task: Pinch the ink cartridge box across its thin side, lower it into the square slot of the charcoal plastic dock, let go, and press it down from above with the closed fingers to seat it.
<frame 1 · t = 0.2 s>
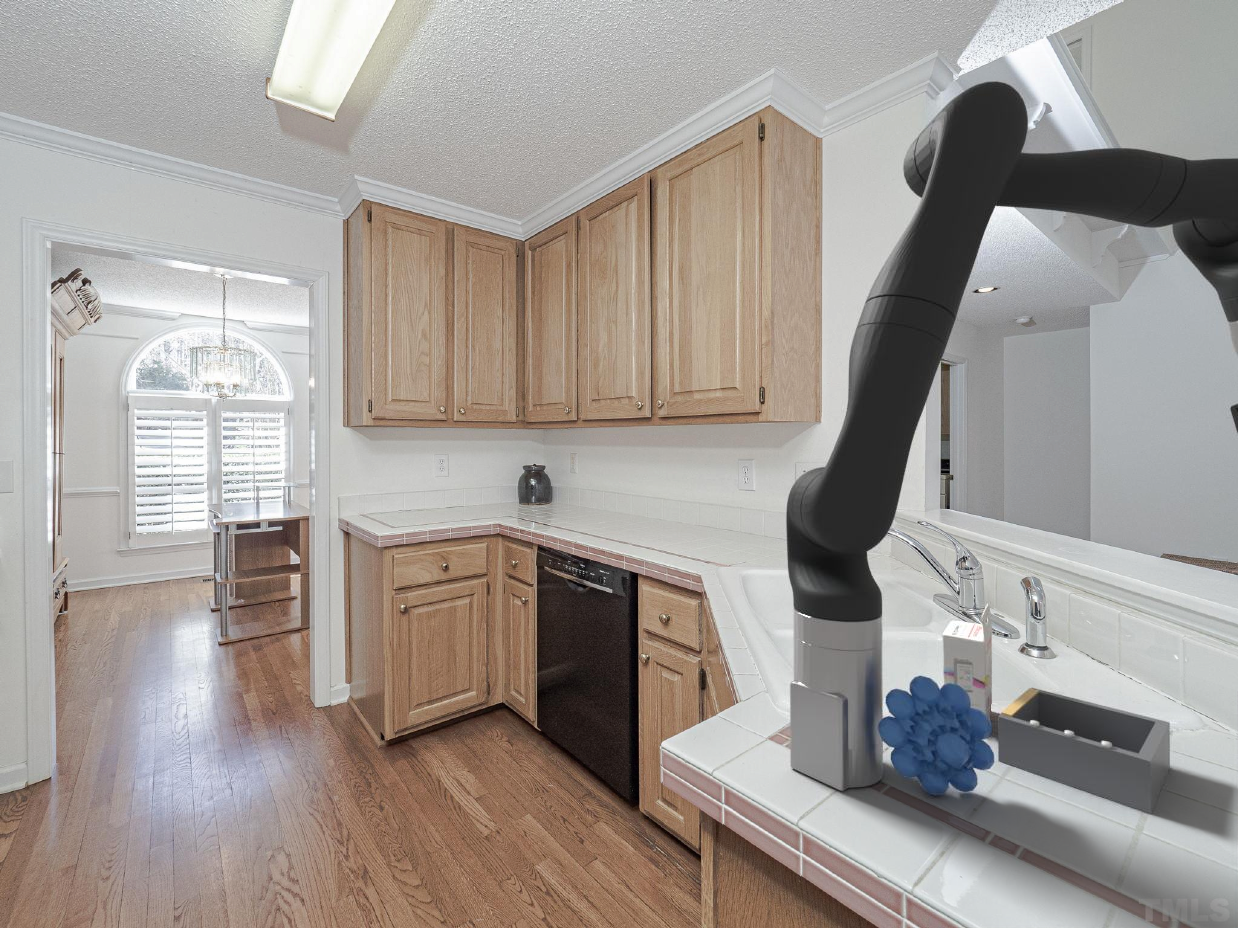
blue flower: (941, 801, 56), on the countertop
cartridge dock: (1083, 764, 63), on the countertop
ink cartridge box: (967, 719, 74), on the countertop
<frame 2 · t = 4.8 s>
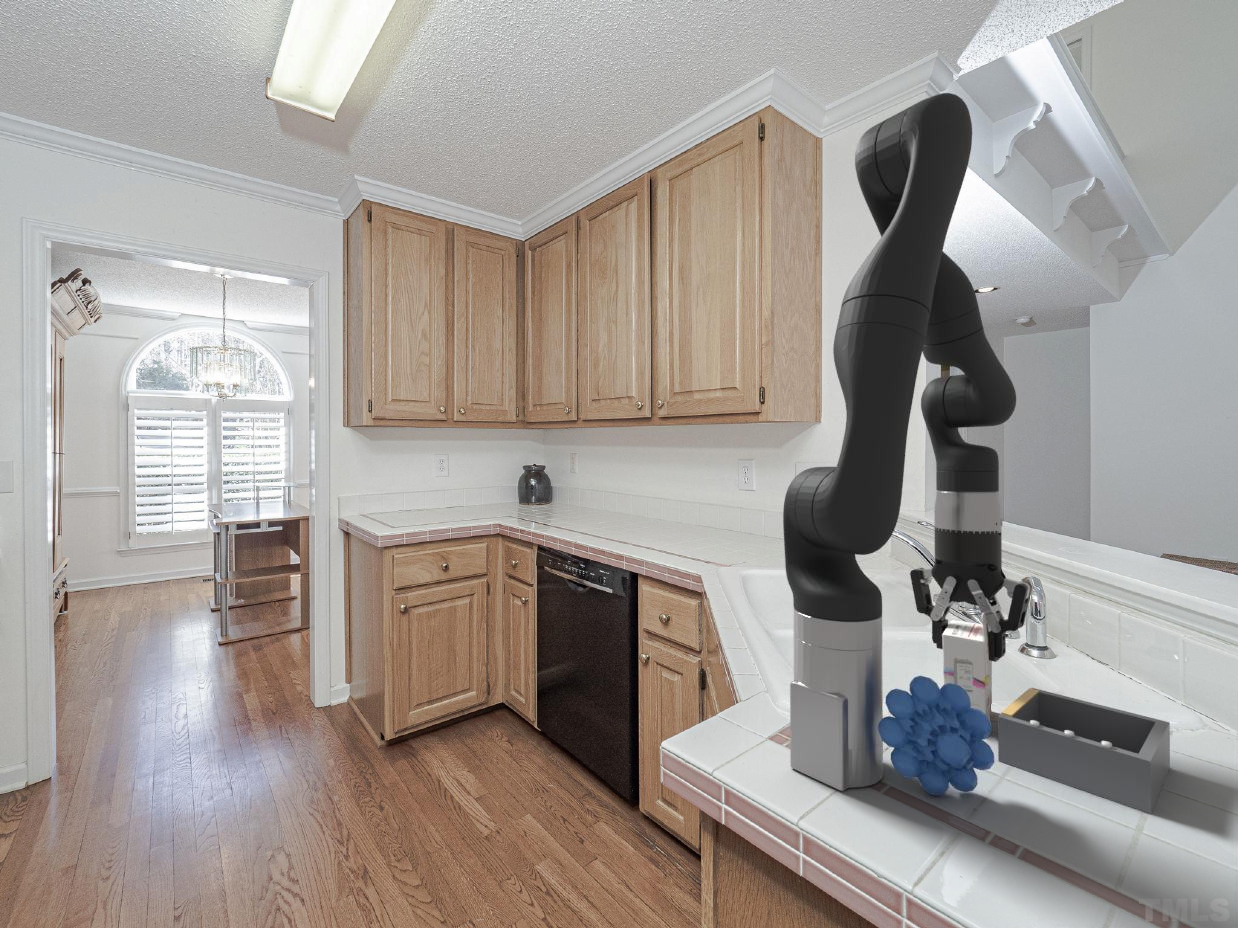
hand: (967, 653, 74), 9 cm above the countertop, tool pointing down, fingers closed on ink cartridge box, 5 cm apart
ink cartridge box: (967, 719, 74), on the countertop, touching gripper
everything else where it was.
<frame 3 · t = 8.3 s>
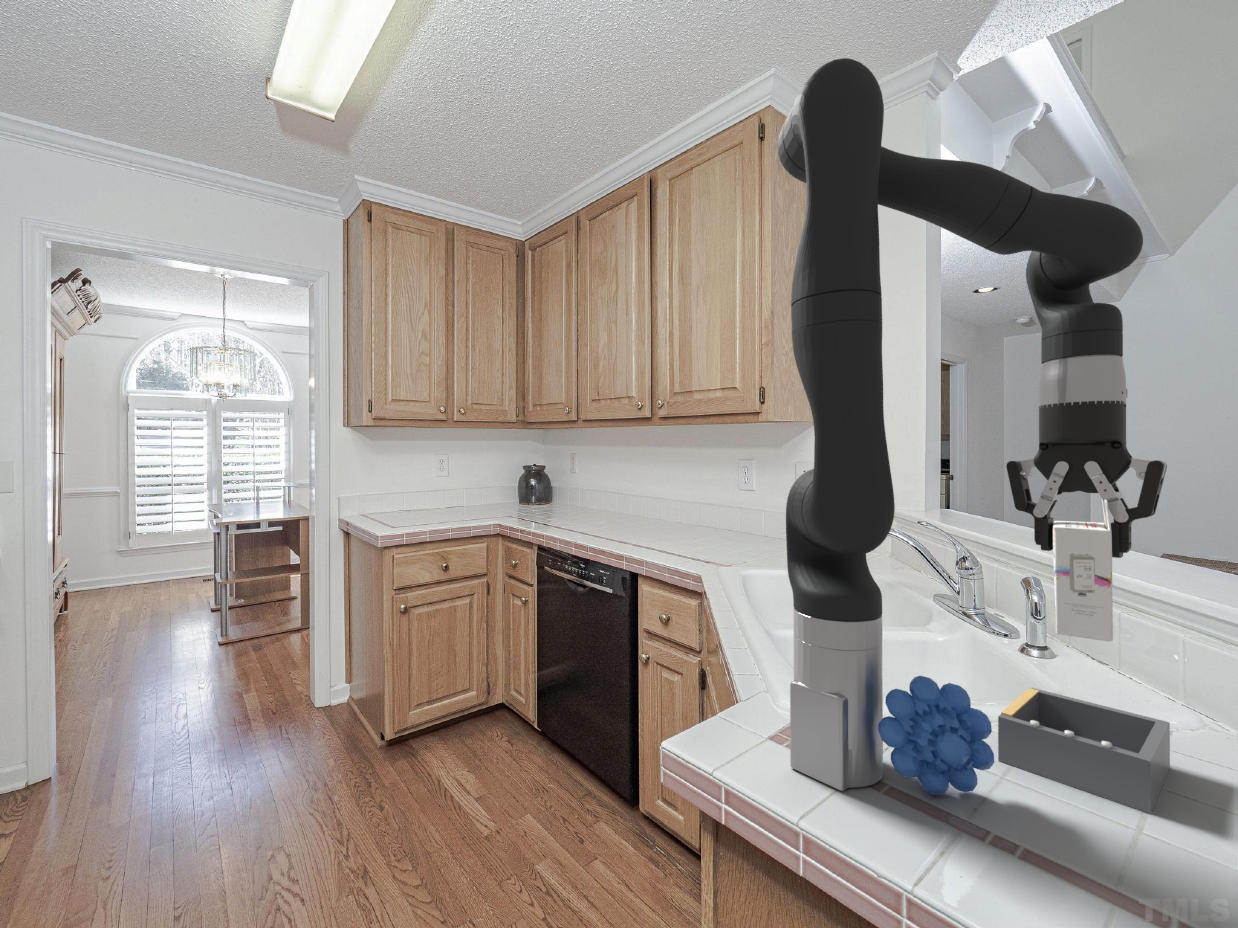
hand: (1081, 552, 63), 24 cm above the countertop, tool pointing down, fingers closed on ink cartridge box, 5 cm apart
ink cartridge box: (1081, 631, 63), point 15 cm above the countertop, touching gripper
everything else where it was.
when the fingers open (10 cm above the countertop, at t = 11.6 s): ink cartridge box stays where it is, resting on cartridge dock.
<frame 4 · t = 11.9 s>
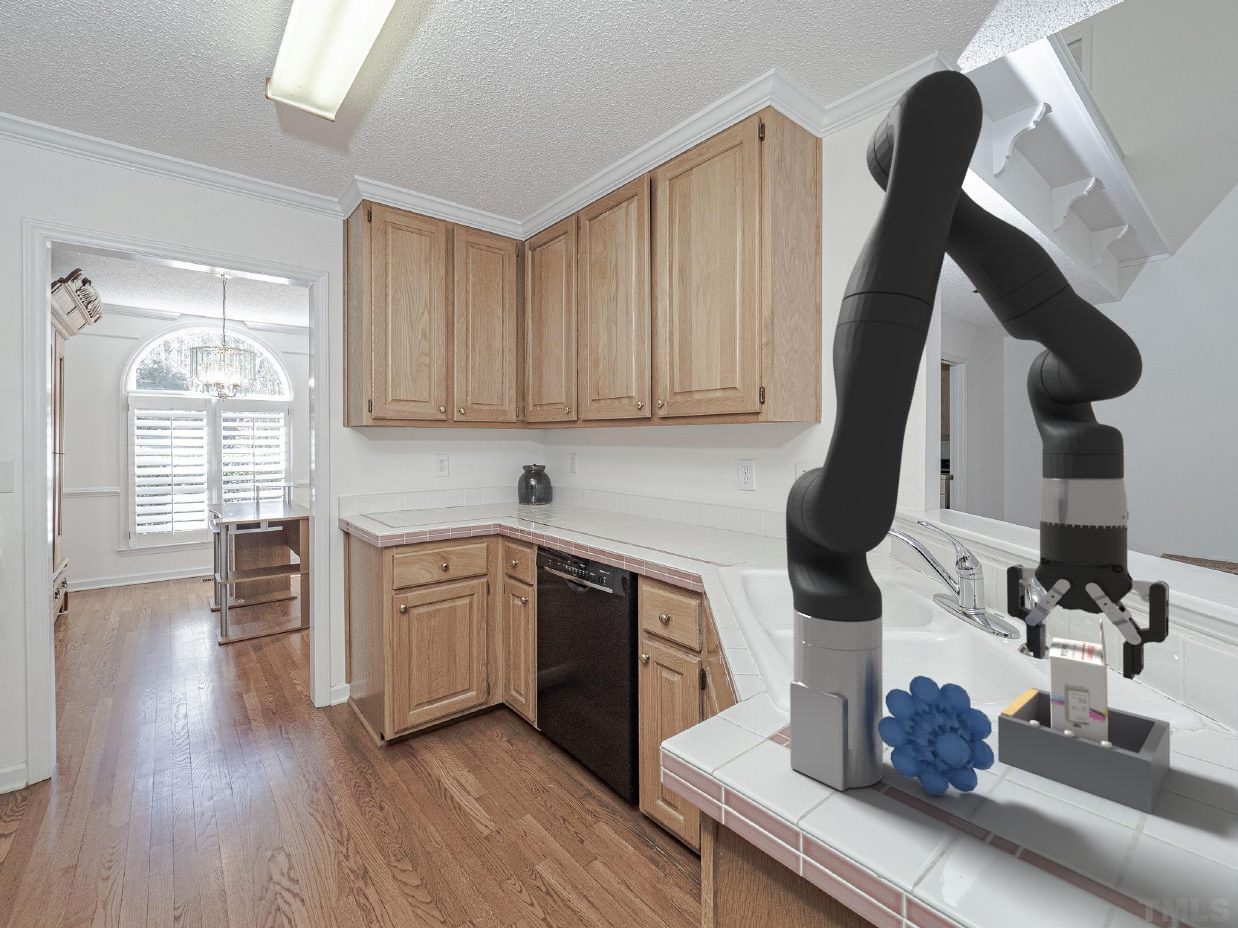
hand: (1082, 666, 63), 11 cm above the countertop, tool pointing down, fingers open, 7 cm apart
ink cartridge box: (1078, 755, 63), point 1 cm above the countertop, touching cartridge dock
everything else where it was.
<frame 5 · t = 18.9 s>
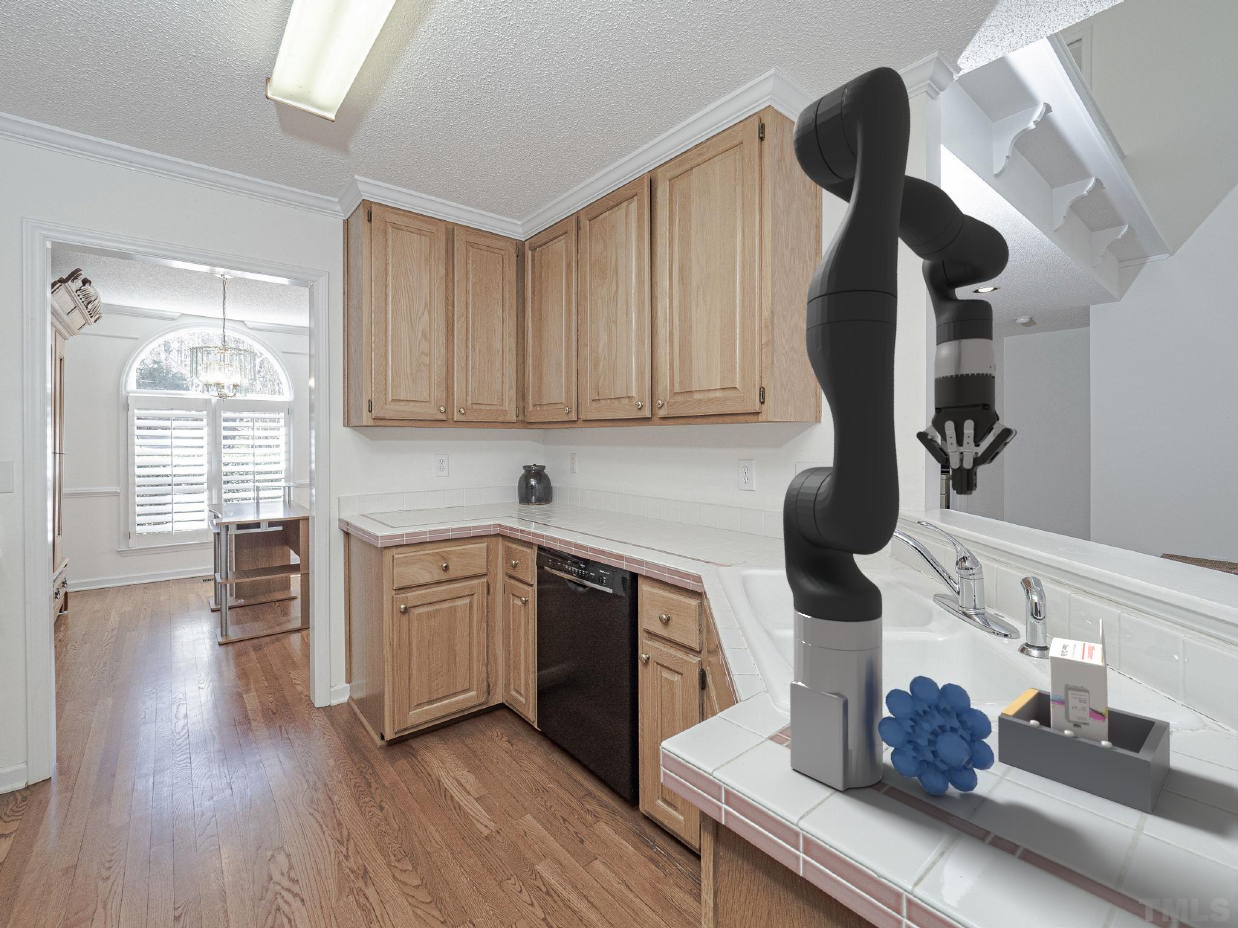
hand: (964, 494, 82), 29 cm above the countertop, tool pointing down, fingers closed
nothing on the countertop moved.
at the end: ink cartridge box 0.4 cm off-centre on the cartridge dock, point 0.8 cm above the cartridge dock's base; ink cartridge box tilted 0°; the gripper is holding nothing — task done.
